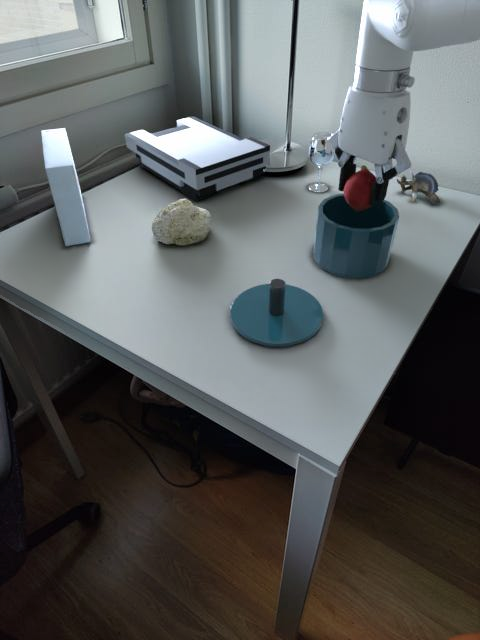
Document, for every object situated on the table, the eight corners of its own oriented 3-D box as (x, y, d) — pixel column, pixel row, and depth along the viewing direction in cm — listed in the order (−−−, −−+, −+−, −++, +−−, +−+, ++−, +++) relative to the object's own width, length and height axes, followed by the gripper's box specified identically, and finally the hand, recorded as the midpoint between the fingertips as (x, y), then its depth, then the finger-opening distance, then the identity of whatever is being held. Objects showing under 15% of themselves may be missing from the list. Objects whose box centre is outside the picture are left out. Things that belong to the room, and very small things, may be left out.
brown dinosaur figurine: (392, 198, 101) (435, 200, 96) (399, 164, 100) (443, 165, 95) (401, 204, 107) (442, 207, 102) (408, 172, 106) (449, 174, 101)
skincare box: (94, 242, 91) (73, 164, 81) (65, 247, 90) (41, 169, 80) (83, 196, 106) (64, 125, 96) (58, 201, 105) (37, 129, 94)
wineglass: (313, 180, 111) (318, 129, 103) (335, 186, 108) (341, 134, 100) (301, 189, 107) (305, 137, 99) (323, 195, 105) (329, 142, 97)
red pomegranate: (377, 205, 81) (386, 161, 76) (373, 221, 77) (382, 175, 72) (344, 201, 82) (350, 157, 77) (338, 216, 78) (344, 170, 73)
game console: (194, 141, 131) (192, 111, 125) (269, 179, 112) (270, 145, 106) (129, 161, 121) (123, 129, 116) (198, 205, 102) (195, 169, 97)
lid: (341, 321, 73) (347, 287, 68) (271, 364, 66) (273, 329, 62) (279, 278, 81) (281, 246, 77) (212, 312, 75) (209, 279, 70)
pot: (403, 259, 85) (415, 212, 79) (353, 288, 79) (362, 240, 73) (347, 230, 93) (354, 186, 87) (298, 254, 87) (302, 208, 81)
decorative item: (182, 243, 83) (144, 207, 84) (177, 269, 91) (143, 236, 92) (228, 210, 88) (191, 178, 90) (219, 238, 96) (186, 207, 98)
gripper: (449, 86, 63) (417, 207, 74) (351, 63, 73) (337, 173, 85) (415, 97, 59) (387, 222, 71) (318, 71, 69) (308, 184, 81)
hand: (360, 194), depth 78 cm, fingers closed on red pomegranate, 6 cm apart
